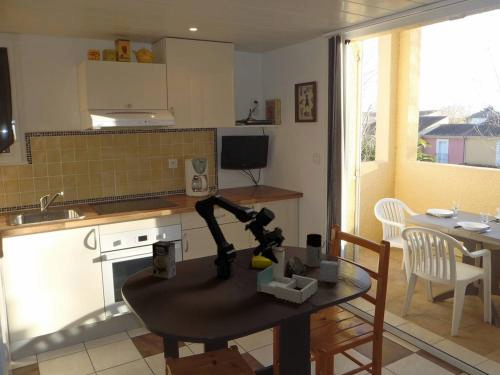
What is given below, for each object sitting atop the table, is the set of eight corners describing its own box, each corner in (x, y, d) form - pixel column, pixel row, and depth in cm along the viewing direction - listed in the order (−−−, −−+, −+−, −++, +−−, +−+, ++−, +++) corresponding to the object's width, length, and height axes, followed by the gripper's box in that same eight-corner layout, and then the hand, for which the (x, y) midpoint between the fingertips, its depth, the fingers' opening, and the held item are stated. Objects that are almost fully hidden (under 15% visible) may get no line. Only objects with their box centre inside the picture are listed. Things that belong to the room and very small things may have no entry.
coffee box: (152, 276, 207) (151, 243, 205) (160, 272, 213) (159, 240, 210) (169, 279, 204) (167, 245, 201) (176, 274, 210) (175, 242, 207)
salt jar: (272, 277, 187) (272, 250, 185) (271, 273, 192) (272, 246, 190) (284, 277, 187) (285, 250, 185) (283, 273, 192) (284, 246, 190)
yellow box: (255, 258, 234) (255, 250, 233) (283, 260, 231) (283, 251, 230) (251, 268, 219) (251, 259, 218) (281, 269, 217) (281, 260, 216)
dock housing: (275, 297, 183) (275, 286, 182) (293, 285, 196) (293, 274, 195) (300, 303, 176) (300, 292, 175) (317, 290, 189) (317, 279, 188)
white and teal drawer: (257, 291, 188) (257, 273, 187) (274, 280, 200) (274, 264, 199) (281, 297, 182) (281, 279, 180) (297, 286, 194) (297, 268, 192)
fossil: (306, 277, 203) (296, 259, 202) (289, 285, 206) (279, 266, 205) (308, 269, 213) (298, 251, 213) (291, 276, 216) (282, 258, 215)
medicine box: (338, 279, 202) (338, 262, 200) (337, 283, 198) (337, 265, 196) (321, 277, 204) (321, 260, 203) (319, 281, 200) (320, 263, 199)
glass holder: (310, 260, 230) (310, 232, 227) (334, 265, 222) (335, 236, 219) (302, 264, 223) (302, 236, 220) (327, 270, 215) (328, 240, 212)
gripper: (259, 226, 180) (281, 256, 176) (281, 217, 195) (303, 245, 191) (243, 241, 186) (265, 271, 181) (266, 232, 201) (287, 259, 197)
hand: (281, 261), depth 187 cm, fingers closed on salt jar, 5 cm apart
